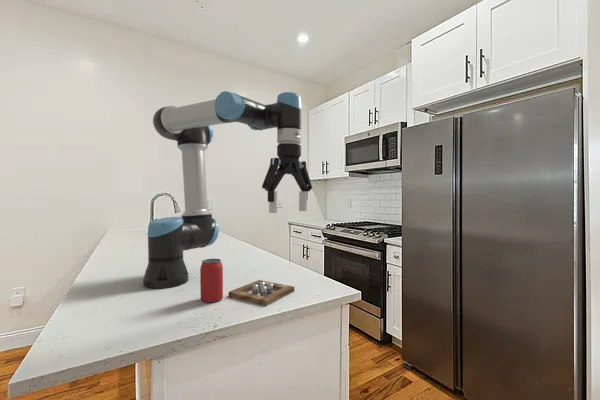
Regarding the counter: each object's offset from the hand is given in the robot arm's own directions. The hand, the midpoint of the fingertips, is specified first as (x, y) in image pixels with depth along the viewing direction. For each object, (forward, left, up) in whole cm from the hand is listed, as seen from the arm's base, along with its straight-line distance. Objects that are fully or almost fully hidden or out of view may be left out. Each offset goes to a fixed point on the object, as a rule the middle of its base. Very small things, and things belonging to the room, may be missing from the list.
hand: (288, 212), depth 93 cm
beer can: (-18, -15, -27) cm, 36 cm away
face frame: (-8, -3, -27) cm, 28 cm away
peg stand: (-8, -3, -27) cm, 28 cm away
